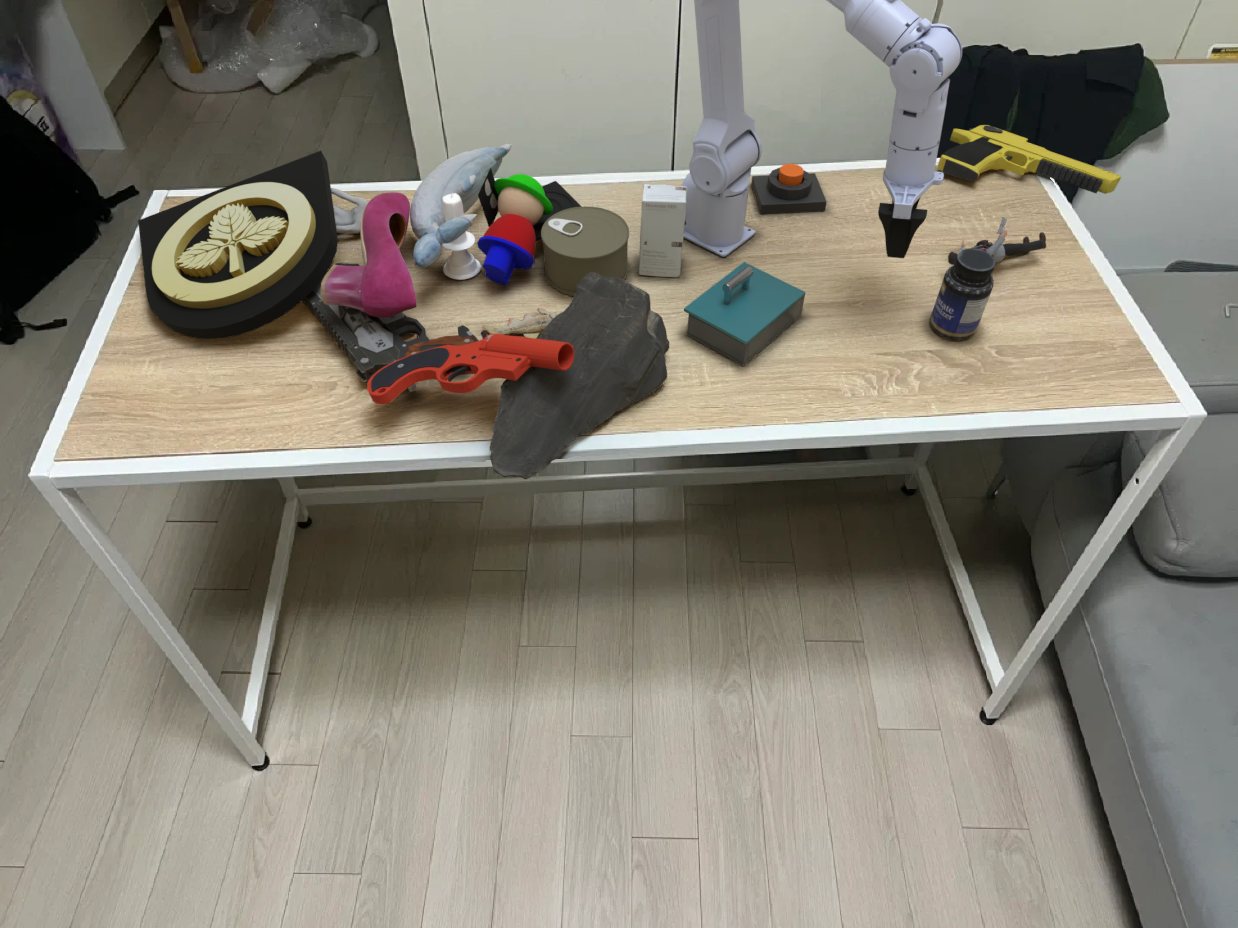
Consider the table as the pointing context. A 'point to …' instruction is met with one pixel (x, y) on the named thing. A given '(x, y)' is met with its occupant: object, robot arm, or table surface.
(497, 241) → the toy figure
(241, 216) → the decorative plaque
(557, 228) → the can
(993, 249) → the action figure
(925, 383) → the table surface
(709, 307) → the teal flat panel
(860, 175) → the table surface
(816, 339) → the table surface
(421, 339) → the fictional weapon
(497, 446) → the stone
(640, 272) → the cosmetic box
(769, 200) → the block
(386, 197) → the high heel
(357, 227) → the figurine
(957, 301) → the pill bottle
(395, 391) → the flare gun
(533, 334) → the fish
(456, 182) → the sculpture
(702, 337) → the dark gray box base
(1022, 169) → the handgun
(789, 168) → the button
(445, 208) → the candle
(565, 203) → the light switch
